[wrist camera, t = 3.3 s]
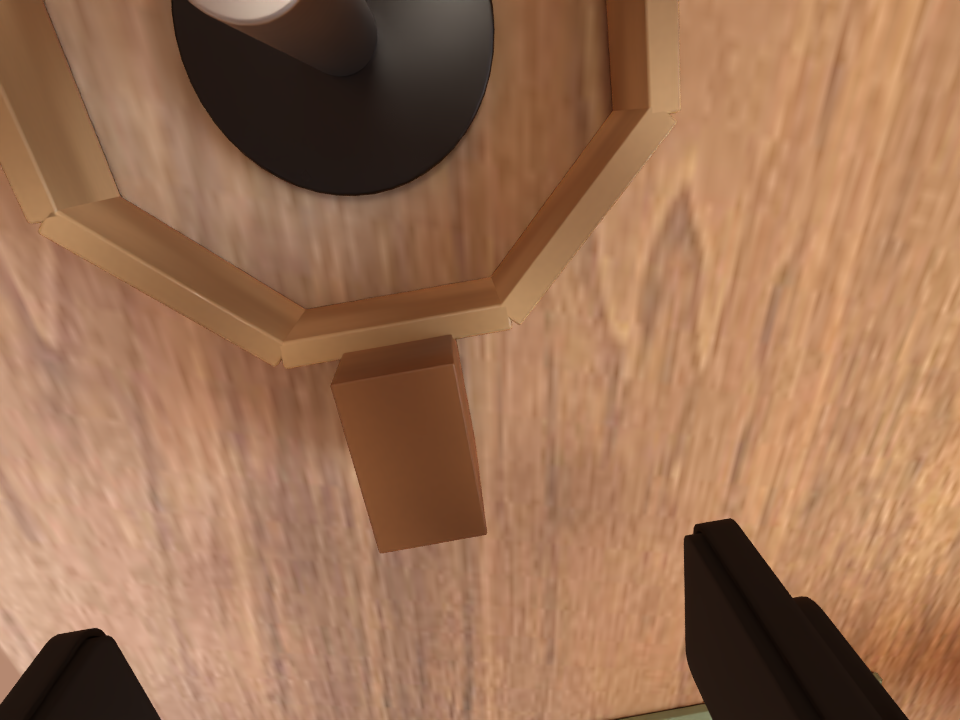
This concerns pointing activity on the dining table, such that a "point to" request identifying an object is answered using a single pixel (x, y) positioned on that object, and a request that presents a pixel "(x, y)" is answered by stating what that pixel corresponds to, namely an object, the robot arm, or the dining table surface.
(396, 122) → the post stand
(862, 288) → the dining table surface
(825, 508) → the dining table surface
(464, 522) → the hoop
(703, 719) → the mat
